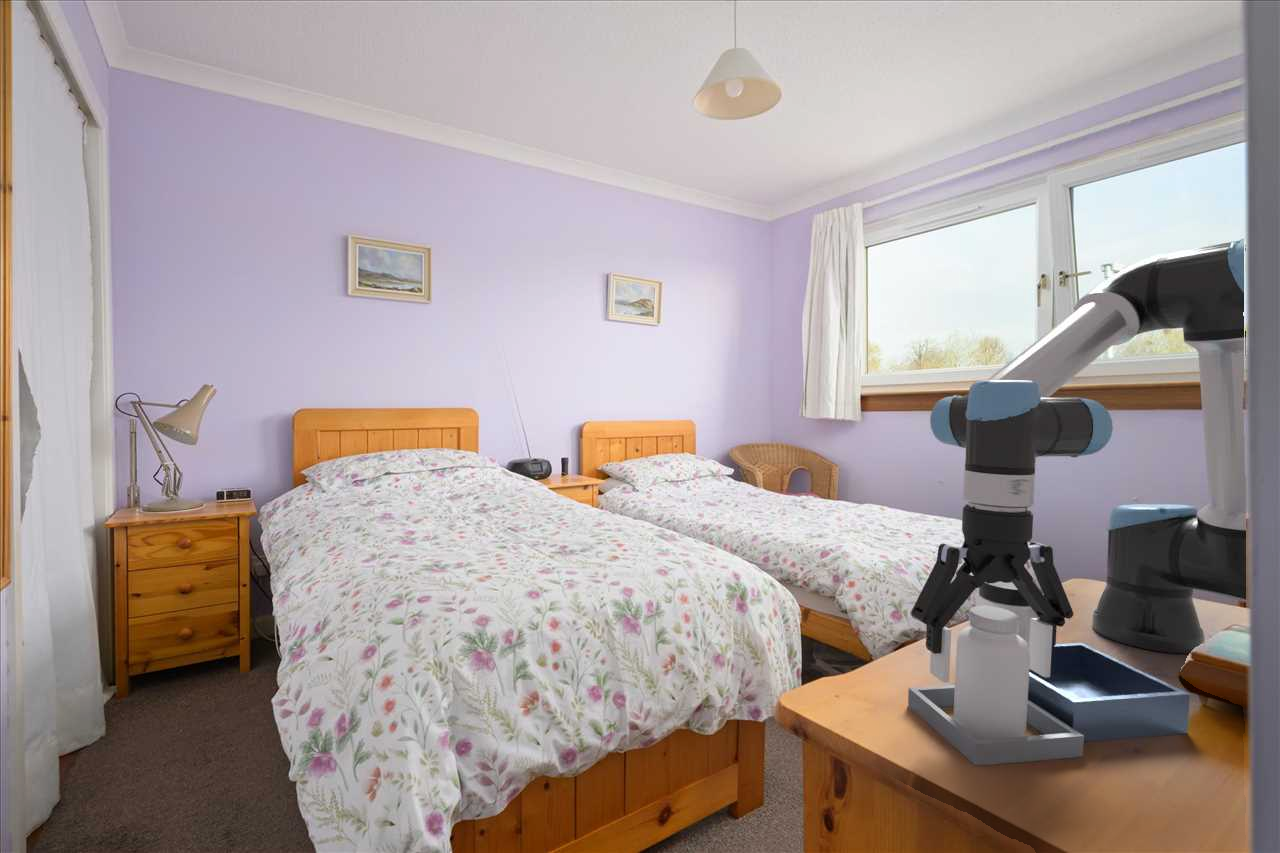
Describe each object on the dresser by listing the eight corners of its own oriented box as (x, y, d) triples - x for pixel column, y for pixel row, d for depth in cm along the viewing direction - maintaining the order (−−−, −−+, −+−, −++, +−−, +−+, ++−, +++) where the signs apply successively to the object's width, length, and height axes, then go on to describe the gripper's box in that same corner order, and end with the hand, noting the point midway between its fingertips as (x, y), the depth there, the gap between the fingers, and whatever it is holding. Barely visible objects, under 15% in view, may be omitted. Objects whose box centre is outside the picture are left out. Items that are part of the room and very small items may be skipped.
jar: (1018, 671, 95) (1021, 593, 94) (965, 652, 101) (967, 580, 101) (1046, 657, 100) (1049, 583, 99) (994, 640, 106) (996, 571, 106)
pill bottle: (996, 753, 73) (1001, 628, 72) (939, 720, 80) (943, 606, 79) (1041, 739, 76) (1046, 618, 75) (982, 708, 83) (986, 598, 83)
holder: (1000, 699, 86) (1000, 681, 86) (1083, 756, 72) (1083, 735, 72) (908, 705, 84) (908, 687, 84) (975, 765, 71) (976, 744, 70)
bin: (1080, 675, 93) (1081, 642, 93) (1187, 733, 78) (1189, 694, 77) (982, 681, 91) (983, 648, 91) (1072, 742, 75) (1074, 702, 75)
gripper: (920, 513, 71) (913, 694, 72) (1114, 510, 75) (1104, 684, 76) (886, 501, 79) (880, 666, 80) (1063, 500, 82) (1055, 658, 83)
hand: (989, 675), depth 78 cm, fingers open, 13 cm apart
